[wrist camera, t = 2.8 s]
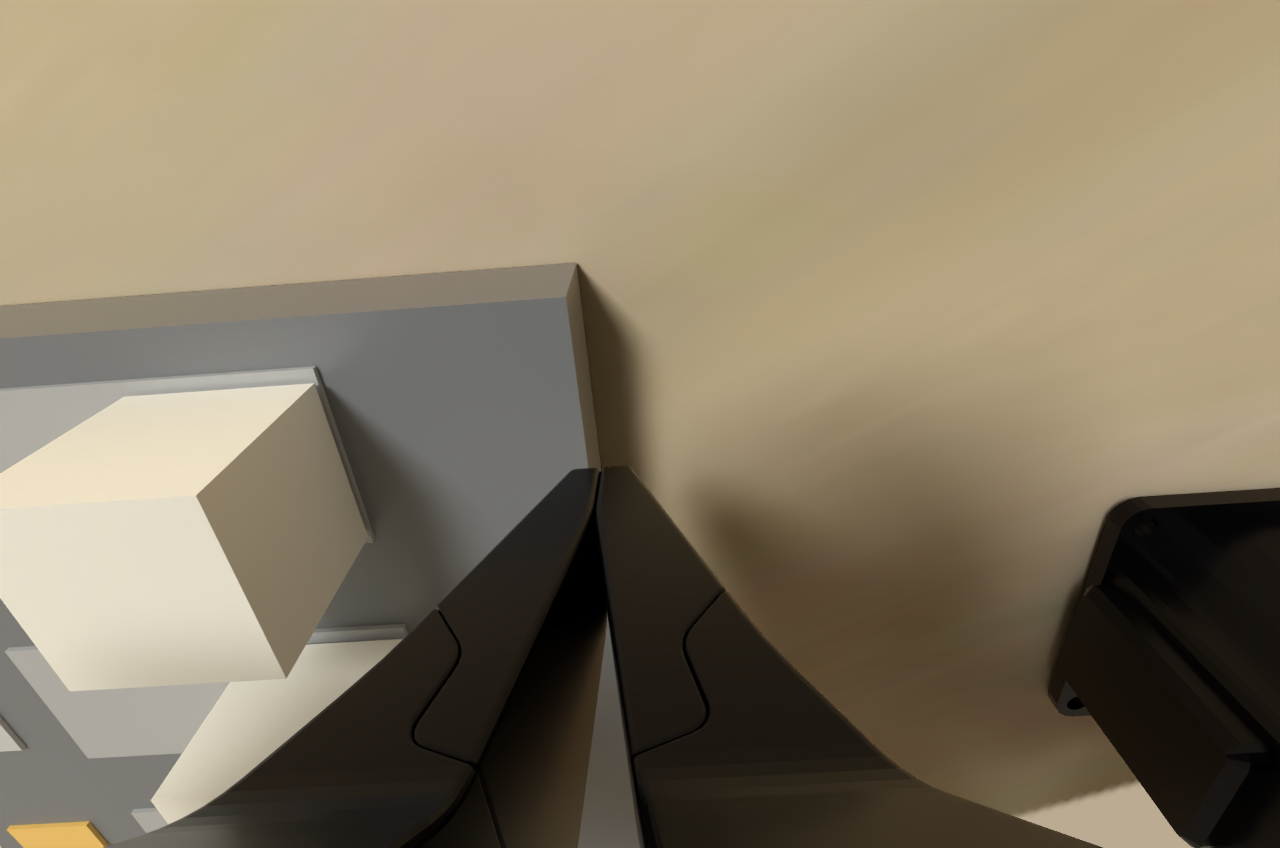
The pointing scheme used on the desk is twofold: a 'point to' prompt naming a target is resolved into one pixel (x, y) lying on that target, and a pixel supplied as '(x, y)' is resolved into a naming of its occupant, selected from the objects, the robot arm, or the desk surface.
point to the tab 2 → (261, 722)
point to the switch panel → (375, 467)
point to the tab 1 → (179, 538)
